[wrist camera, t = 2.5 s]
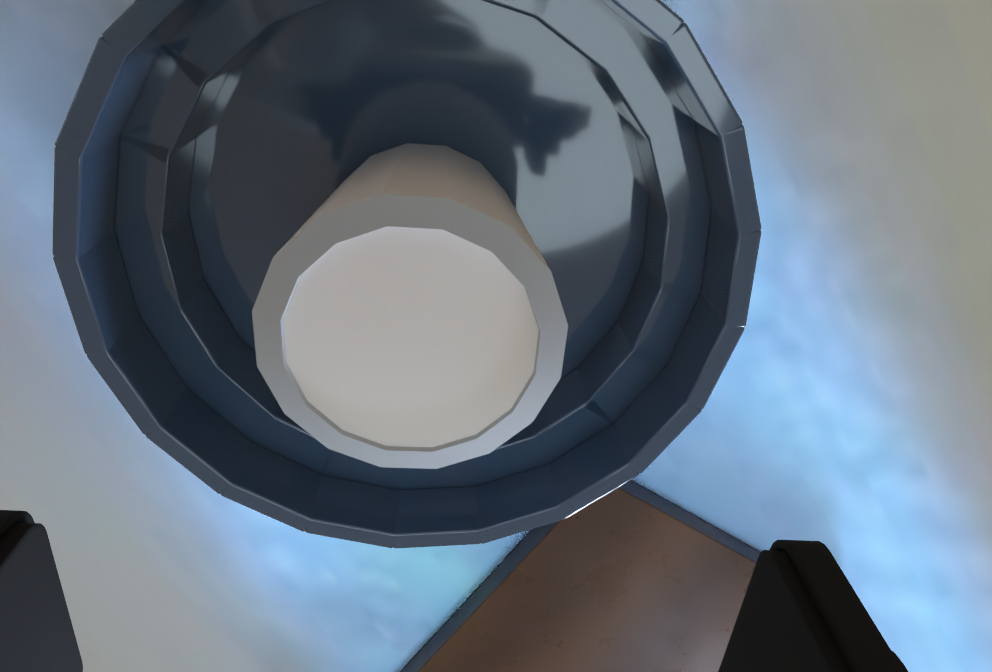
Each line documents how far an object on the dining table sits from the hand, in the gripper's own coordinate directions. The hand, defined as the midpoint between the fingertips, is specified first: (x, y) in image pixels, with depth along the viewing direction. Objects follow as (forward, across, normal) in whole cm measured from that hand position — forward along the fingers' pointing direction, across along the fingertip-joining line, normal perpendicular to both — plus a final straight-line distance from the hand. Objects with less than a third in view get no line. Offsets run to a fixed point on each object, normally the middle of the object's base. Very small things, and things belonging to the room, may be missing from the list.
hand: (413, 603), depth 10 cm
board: (+14, -7, +20) cm, 26 cm away
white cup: (+14, +1, 0) cm, 14 cm away
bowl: (+14, +1, 0) cm, 14 cm away
